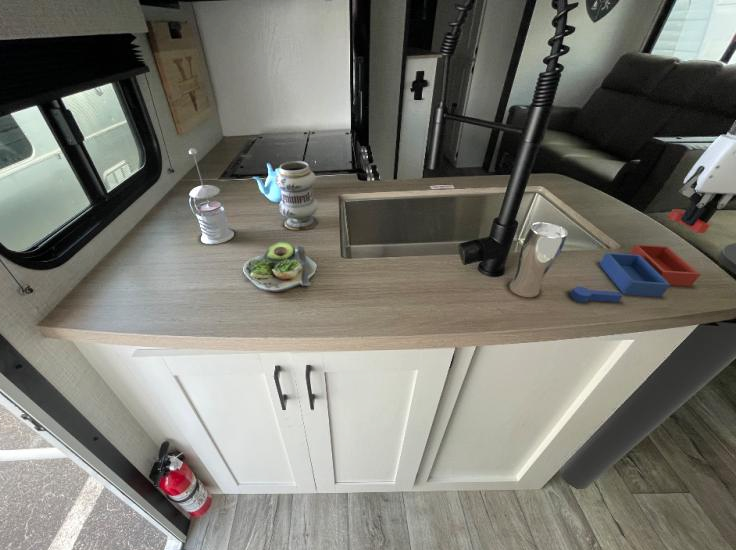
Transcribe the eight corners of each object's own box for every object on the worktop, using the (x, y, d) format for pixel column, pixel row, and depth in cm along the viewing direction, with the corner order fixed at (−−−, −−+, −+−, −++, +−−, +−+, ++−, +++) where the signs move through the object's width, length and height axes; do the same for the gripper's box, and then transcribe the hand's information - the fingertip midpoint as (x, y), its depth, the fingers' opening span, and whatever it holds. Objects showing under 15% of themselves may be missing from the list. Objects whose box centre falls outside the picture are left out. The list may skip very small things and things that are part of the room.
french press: (218, 246, 94) (191, 155, 78) (189, 238, 98) (158, 151, 82) (240, 232, 100) (219, 145, 84) (212, 225, 104) (187, 141, 89)
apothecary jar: (286, 235, 98) (277, 174, 86) (278, 218, 107) (269, 162, 95) (324, 227, 101) (320, 168, 89) (313, 212, 110) (308, 156, 98)
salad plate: (336, 279, 79) (335, 263, 76) (270, 307, 72) (267, 291, 69) (296, 247, 92) (295, 232, 89) (237, 269, 84) (233, 253, 81)
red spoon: (710, 233, 68) (715, 225, 67) (691, 232, 68) (696, 224, 67) (680, 216, 75) (685, 209, 74) (664, 215, 75) (668, 208, 74)
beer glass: (511, 297, 72) (536, 237, 62) (503, 279, 77) (525, 221, 68) (545, 299, 71) (575, 238, 61) (534, 281, 76) (560, 222, 67)
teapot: (307, 190, 126) (304, 163, 119) (296, 206, 114) (293, 176, 108) (271, 189, 128) (266, 162, 121) (257, 204, 116) (251, 175, 110)
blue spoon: (613, 295, 71) (617, 289, 70) (620, 305, 69) (625, 298, 68) (567, 292, 73) (571, 285, 72) (573, 301, 70) (577, 295, 69)
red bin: (627, 256, 83) (634, 244, 81) (659, 257, 82) (667, 246, 80) (654, 284, 74) (663, 271, 72) (690, 286, 73) (701, 274, 71)
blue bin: (599, 264, 81) (606, 252, 79) (631, 266, 80) (639, 254, 78) (623, 294, 72) (632, 282, 69) (660, 297, 70) (670, 284, 68)
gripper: (793, 125, 60) (721, 217, 72) (696, 124, 63) (641, 214, 74) (833, 135, 54) (747, 233, 66) (725, 133, 57) (660, 229, 69)
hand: (692, 222), depth 70 cm, fingers closed on red spoon, 1 cm apart
